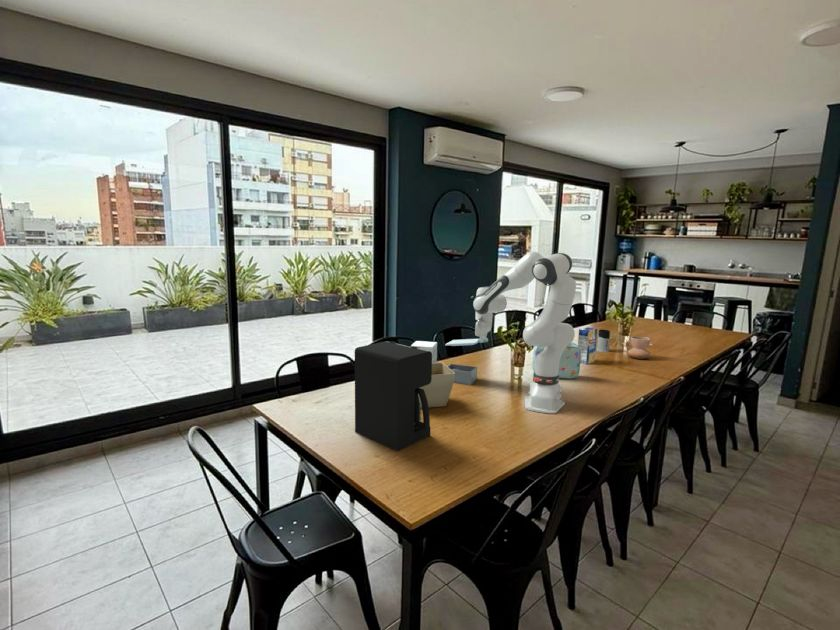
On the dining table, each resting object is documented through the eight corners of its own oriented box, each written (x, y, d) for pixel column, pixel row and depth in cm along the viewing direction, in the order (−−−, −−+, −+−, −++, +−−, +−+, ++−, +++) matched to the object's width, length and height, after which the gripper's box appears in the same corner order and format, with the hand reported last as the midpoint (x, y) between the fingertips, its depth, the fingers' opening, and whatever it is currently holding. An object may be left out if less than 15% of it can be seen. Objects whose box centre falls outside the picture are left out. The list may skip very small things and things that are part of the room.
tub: (470, 384, 239) (471, 372, 238) (443, 380, 245) (443, 368, 244) (477, 378, 250) (477, 366, 249) (450, 375, 256) (450, 363, 255)
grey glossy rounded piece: (457, 377, 249) (457, 370, 248) (450, 376, 250) (451, 369, 249) (459, 375, 252) (459, 368, 251) (453, 374, 253) (453, 368, 253)
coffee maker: (439, 438, 173) (441, 351, 167) (405, 455, 158) (406, 361, 153) (389, 418, 191) (389, 339, 186) (354, 432, 177) (353, 347, 171)
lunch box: (577, 375, 261) (579, 339, 257) (581, 380, 250) (584, 343, 247) (531, 373, 263) (533, 337, 260) (533, 378, 253) (535, 341, 250)
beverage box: (576, 362, 289) (578, 329, 286) (585, 359, 296) (587, 327, 293) (586, 364, 284) (588, 330, 281) (594, 361, 291) (597, 328, 288)
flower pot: (415, 412, 199) (415, 376, 197) (405, 397, 218) (405, 364, 215) (454, 408, 205) (455, 373, 202) (441, 394, 223) (442, 362, 220)
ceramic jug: (656, 359, 301) (658, 338, 299) (645, 361, 292) (647, 340, 290) (630, 354, 315) (631, 334, 313) (619, 356, 307) (621, 336, 305)
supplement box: (409, 374, 256) (410, 345, 253) (415, 368, 268) (415, 340, 265) (432, 376, 253) (432, 346, 250) (436, 370, 265) (437, 342, 262)
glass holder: (600, 348, 328) (601, 328, 326) (618, 352, 317) (620, 332, 315) (593, 350, 323) (595, 330, 320) (612, 354, 312) (614, 333, 309)
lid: (484, 345, 232) (484, 340, 232) (445, 347, 241) (445, 342, 241) (490, 340, 244) (490, 336, 244) (453, 342, 253) (452, 338, 253)
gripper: (484, 319, 226) (483, 345, 228) (494, 314, 245) (493, 339, 247) (472, 318, 229) (471, 344, 231) (483, 313, 247) (482, 338, 249)
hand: (483, 341), depth 239 cm, fingers closed on lid, 3 cm apart
